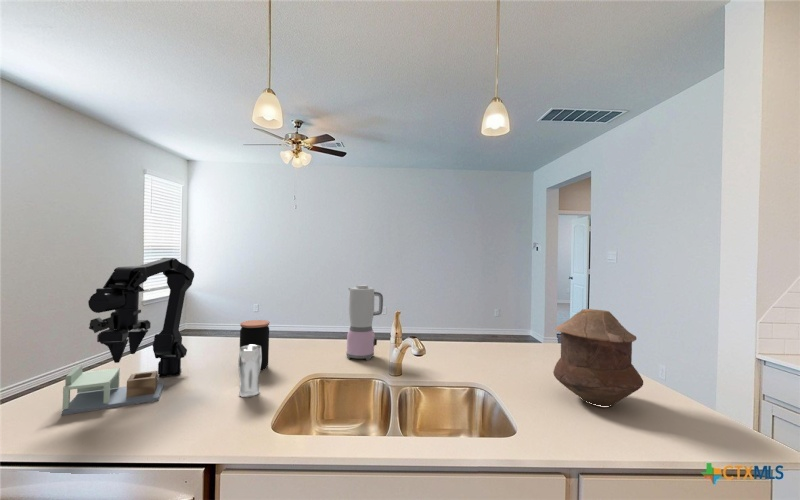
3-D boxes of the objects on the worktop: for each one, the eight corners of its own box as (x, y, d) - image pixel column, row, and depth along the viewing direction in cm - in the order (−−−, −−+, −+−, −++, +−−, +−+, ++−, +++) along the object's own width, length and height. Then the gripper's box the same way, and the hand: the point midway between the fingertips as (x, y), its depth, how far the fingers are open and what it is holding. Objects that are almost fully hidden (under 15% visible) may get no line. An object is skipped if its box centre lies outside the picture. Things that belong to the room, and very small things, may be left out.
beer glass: (265, 391, 115) (266, 346, 115) (249, 399, 109) (251, 351, 109) (248, 388, 118) (249, 343, 118) (232, 396, 111) (233, 348, 111)
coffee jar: (274, 366, 140) (275, 321, 140) (252, 374, 130) (254, 326, 130) (254, 362, 144) (256, 318, 144) (232, 370, 134) (234, 323, 134)
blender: (343, 360, 149) (345, 286, 149) (348, 352, 161) (350, 283, 161) (380, 362, 149) (382, 287, 149) (382, 353, 161) (384, 284, 161)
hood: (119, 386, 113) (119, 359, 113) (108, 402, 101) (109, 373, 101) (78, 391, 108) (79, 364, 108) (62, 409, 96) (63, 378, 96)
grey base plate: (163, 384, 119) (164, 372, 119) (158, 400, 106) (158, 387, 106) (78, 395, 108) (79, 383, 108) (61, 415, 96) (62, 400, 96)
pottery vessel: (593, 424, 99) (596, 318, 99) (535, 389, 123) (538, 304, 124) (663, 414, 106) (665, 316, 106) (595, 383, 130) (597, 303, 130)
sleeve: (157, 385, 115) (157, 370, 115) (154, 393, 109) (154, 377, 109) (130, 389, 112) (131, 373, 112) (126, 397, 105) (126, 381, 105)
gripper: (113, 303, 115) (111, 350, 115) (75, 313, 97) (73, 369, 97) (152, 303, 118) (150, 349, 117) (122, 312, 100) (120, 367, 99)
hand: (125, 358), depth 108 cm, fingers open, 9 cm apart
